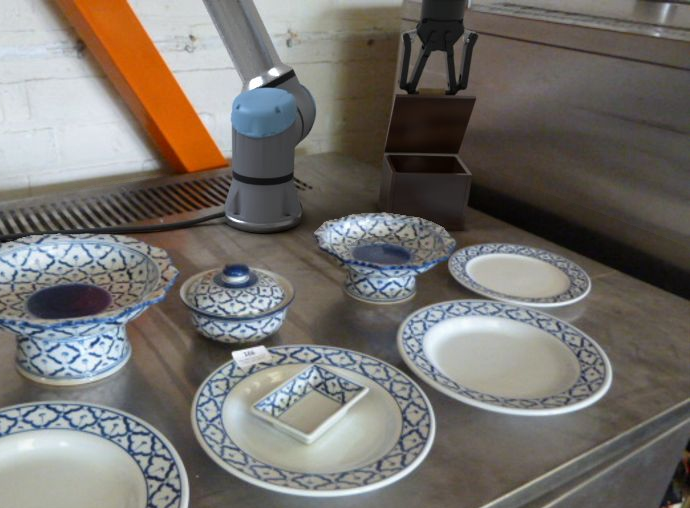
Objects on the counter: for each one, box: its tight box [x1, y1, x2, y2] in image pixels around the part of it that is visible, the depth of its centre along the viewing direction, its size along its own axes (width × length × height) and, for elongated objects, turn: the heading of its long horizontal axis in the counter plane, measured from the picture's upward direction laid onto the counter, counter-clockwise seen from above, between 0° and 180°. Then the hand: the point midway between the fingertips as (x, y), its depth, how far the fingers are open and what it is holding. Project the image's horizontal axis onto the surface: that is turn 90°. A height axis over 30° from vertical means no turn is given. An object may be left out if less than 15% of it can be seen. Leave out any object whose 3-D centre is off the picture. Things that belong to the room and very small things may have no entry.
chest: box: [377, 152, 473, 231], centre depth 128 cm, size 13×15×11 cm
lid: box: [383, 87, 477, 155], centre depth 126 cm, size 14×15×5 cm
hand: (426, 125), depth 127 cm, fingers open, 5 cm apart
